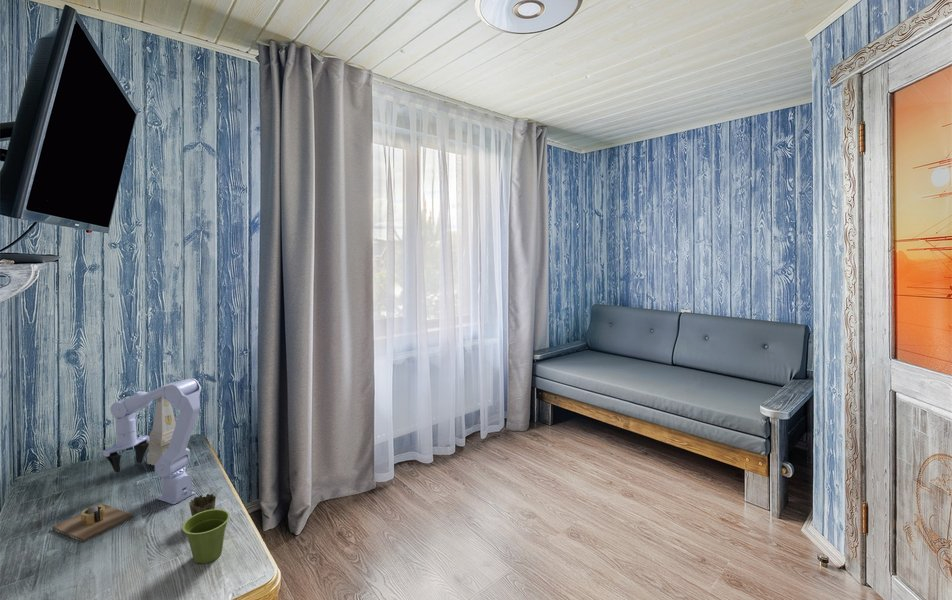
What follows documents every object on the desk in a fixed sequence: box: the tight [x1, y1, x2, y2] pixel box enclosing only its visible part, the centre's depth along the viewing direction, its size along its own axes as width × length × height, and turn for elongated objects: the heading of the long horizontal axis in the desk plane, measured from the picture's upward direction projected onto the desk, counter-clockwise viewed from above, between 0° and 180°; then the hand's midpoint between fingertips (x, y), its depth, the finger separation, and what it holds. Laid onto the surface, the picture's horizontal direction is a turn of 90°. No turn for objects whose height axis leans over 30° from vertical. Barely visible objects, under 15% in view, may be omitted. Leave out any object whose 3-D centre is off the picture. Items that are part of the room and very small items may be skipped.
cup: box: [189, 493, 217, 517], centre depth 145 cm, size 8×7×8 cm
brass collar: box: [80, 504, 105, 526], centre depth 143 cm, size 6×6×4 cm
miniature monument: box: [146, 397, 177, 467], centre depth 185 cm, size 10×10×30 cm
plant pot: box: [181, 508, 230, 564], centre depth 129 cm, size 12×12×11 cm
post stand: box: [51, 503, 134, 542], centre depth 143 cm, size 16×14×6 cm
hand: (128, 466), depth 162 cm, fingers open, 7 cm apart
